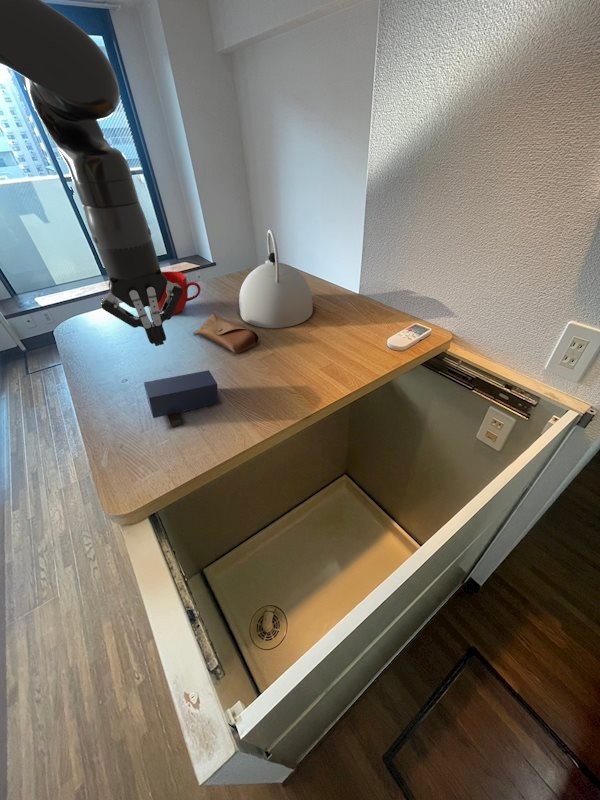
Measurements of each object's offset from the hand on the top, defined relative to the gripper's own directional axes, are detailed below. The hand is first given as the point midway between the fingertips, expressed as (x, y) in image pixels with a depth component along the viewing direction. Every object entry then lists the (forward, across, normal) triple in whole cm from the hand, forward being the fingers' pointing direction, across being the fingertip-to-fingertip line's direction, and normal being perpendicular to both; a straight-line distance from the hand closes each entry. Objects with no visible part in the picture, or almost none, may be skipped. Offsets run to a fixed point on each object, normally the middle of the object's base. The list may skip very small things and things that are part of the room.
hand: (158, 343), depth 58 cm
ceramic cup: (+16, -11, -46) cm, 50 cm away
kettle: (+15, -38, -31) cm, 52 cm away
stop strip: (+16, +2, 0) cm, 16 cm away
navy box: (+11, +5, 0) cm, 12 cm away
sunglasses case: (+16, -18, -22) cm, 32 cm away
